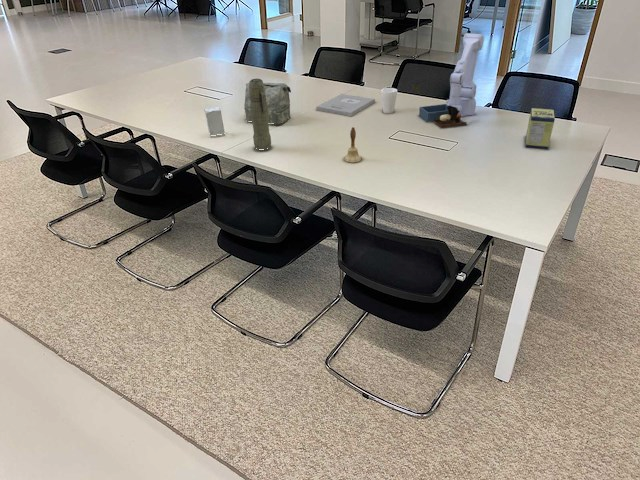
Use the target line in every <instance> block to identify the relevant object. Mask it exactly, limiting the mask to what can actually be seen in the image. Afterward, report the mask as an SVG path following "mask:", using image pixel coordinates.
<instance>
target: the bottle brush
mask: <svg viewBox="0 0 640 480" xmlns="http://www.w3.org/2000/svg"><path fill="white" fill-rule="evenodd" d="M459 116H461V114H458V115H457V117H456V118H458V117H459ZM461 117H462V116H461ZM446 119H448V120H450V119H451V115H448V114H446V115H441V116H440V120H441V121H446Z"/></svg>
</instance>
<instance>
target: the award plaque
mask: <svg viewBox="0 0 640 480" xmlns="http://www.w3.org/2000/svg"><path fill="white" fill-rule="evenodd" d="M374 103H376V99H375V98H372V97H364V96H359V95H353V94H347V93H340V94H338V95H337V96H335V97H332V98H331V99H328V100H327V101H325V102H323V103H320V104H319V105H317V106H316V108H315V109H316V111H320V112H325V113H329V114H330V113H331V114H336V115H341V116H348V117H353V116H354V115H355V114H357V113H359V112H360V111H361V112H362V111H363V110H364V109H367V108H368V107H370V106H371V105H373V104H374Z"/></svg>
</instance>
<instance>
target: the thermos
mask: <svg viewBox="0 0 640 480" xmlns="http://www.w3.org/2000/svg"><path fill="white" fill-rule="evenodd" d="M249 82H250V83H249ZM249 82H248V83H249V93H250V113H251V117H252V122H253V123H252V129H253V136H252V139H253V146H254V150H255V151H256V152H268V151H271V149H272V137H271V134H270V127H269V125H270V124H268V105H267V102H266V95H265V87H264V83H265V82H264V81H263V79H261V78H252V79H250V80H249ZM256 148H257V149H256ZM267 148H268V149H267ZM259 149H264V150H259Z"/></svg>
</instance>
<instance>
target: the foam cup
mask: <svg viewBox="0 0 640 480" xmlns="http://www.w3.org/2000/svg"><path fill="white" fill-rule="evenodd" d="M380 91H381V92H380V95H381V103H382V104H381V105H382V113H384V114H394V112H395V107H396V101H397V96H398V89H397V88H394V87H384V88H381V90H380Z"/></svg>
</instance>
